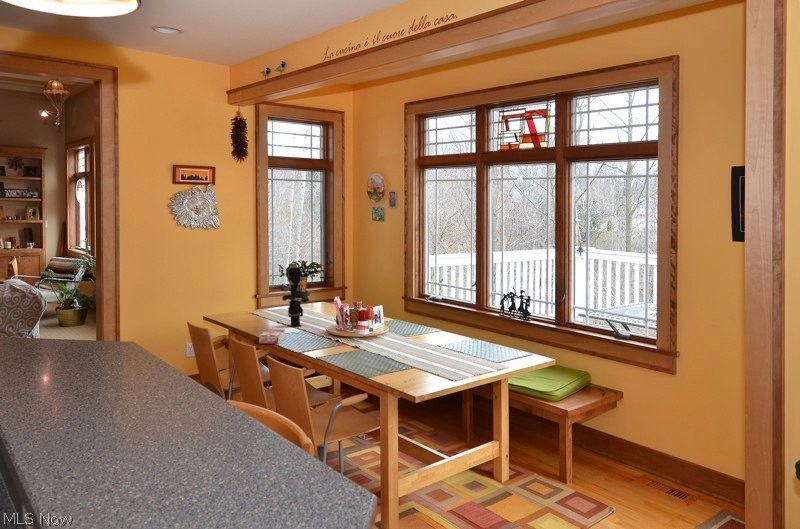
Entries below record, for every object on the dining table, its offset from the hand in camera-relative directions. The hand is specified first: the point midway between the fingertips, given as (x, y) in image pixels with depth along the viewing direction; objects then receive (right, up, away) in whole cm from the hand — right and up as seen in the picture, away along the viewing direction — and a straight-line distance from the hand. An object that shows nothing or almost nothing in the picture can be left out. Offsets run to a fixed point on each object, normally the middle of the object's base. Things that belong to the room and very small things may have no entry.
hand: (296, 312), depth 388 cm
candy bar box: (-10, -11, -12) cm, 19 cm away
